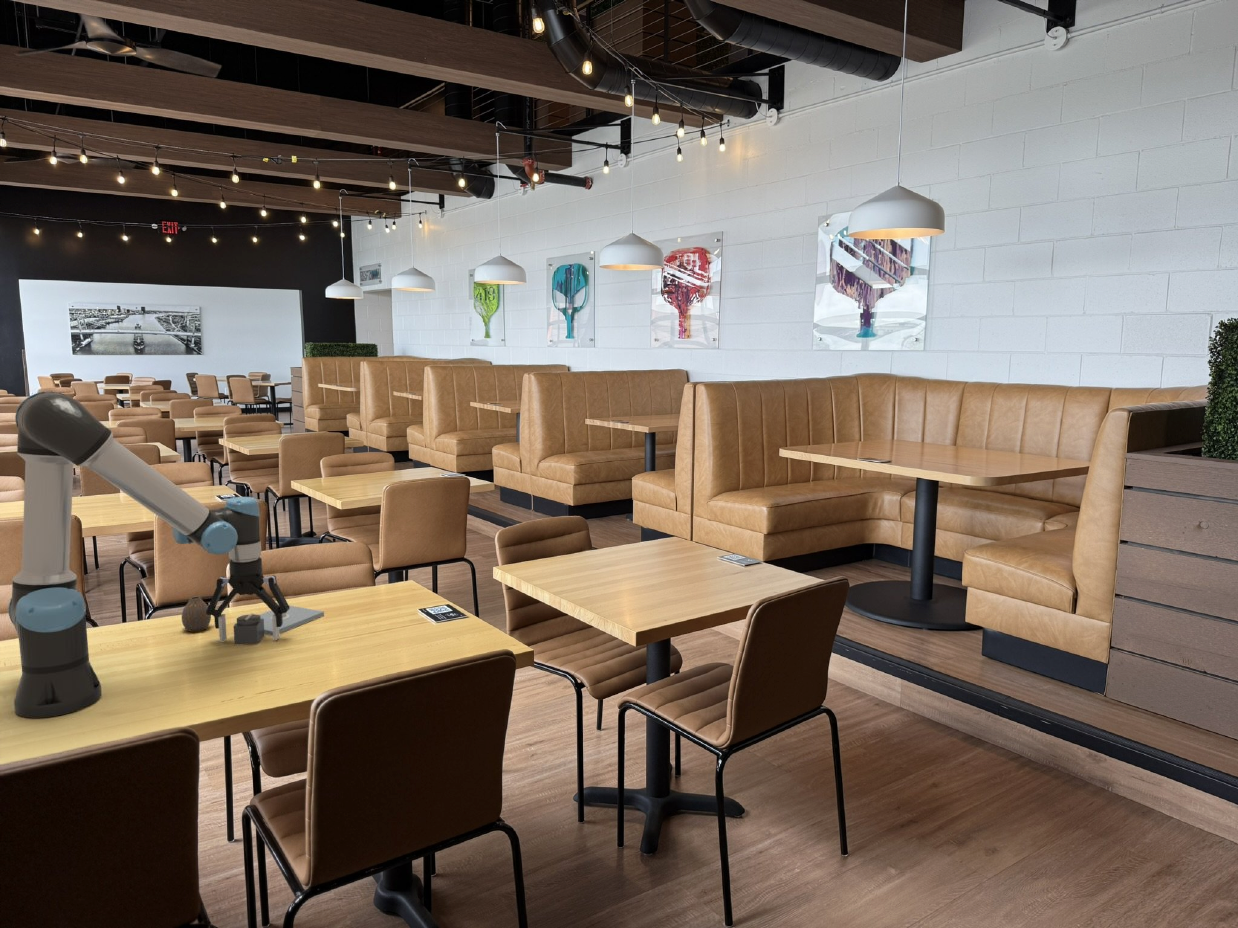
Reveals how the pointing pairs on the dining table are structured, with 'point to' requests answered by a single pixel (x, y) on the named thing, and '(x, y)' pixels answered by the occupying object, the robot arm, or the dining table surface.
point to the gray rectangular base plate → (290, 618)
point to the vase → (195, 615)
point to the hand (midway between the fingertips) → (249, 639)
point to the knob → (249, 629)
